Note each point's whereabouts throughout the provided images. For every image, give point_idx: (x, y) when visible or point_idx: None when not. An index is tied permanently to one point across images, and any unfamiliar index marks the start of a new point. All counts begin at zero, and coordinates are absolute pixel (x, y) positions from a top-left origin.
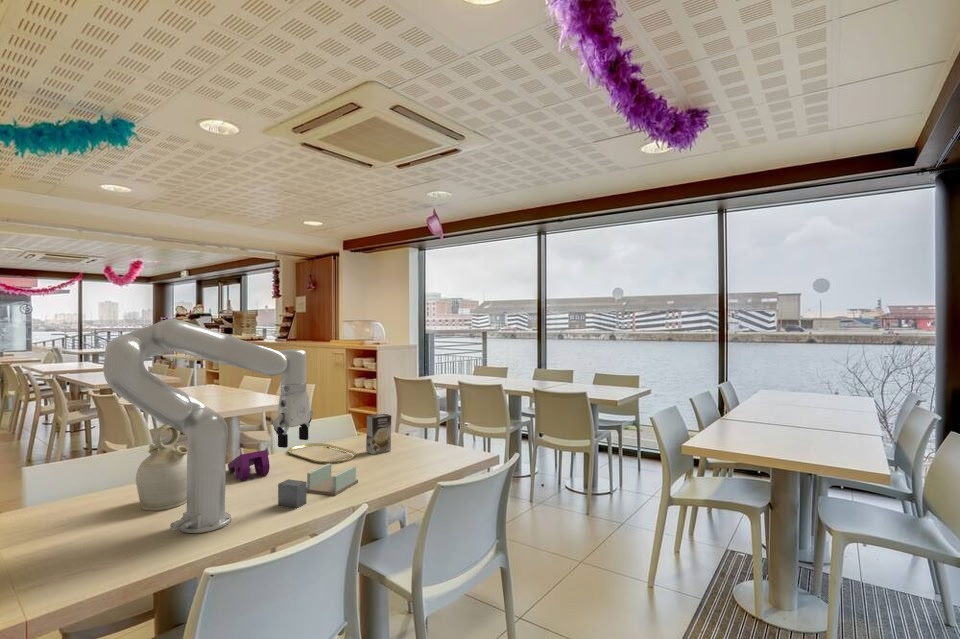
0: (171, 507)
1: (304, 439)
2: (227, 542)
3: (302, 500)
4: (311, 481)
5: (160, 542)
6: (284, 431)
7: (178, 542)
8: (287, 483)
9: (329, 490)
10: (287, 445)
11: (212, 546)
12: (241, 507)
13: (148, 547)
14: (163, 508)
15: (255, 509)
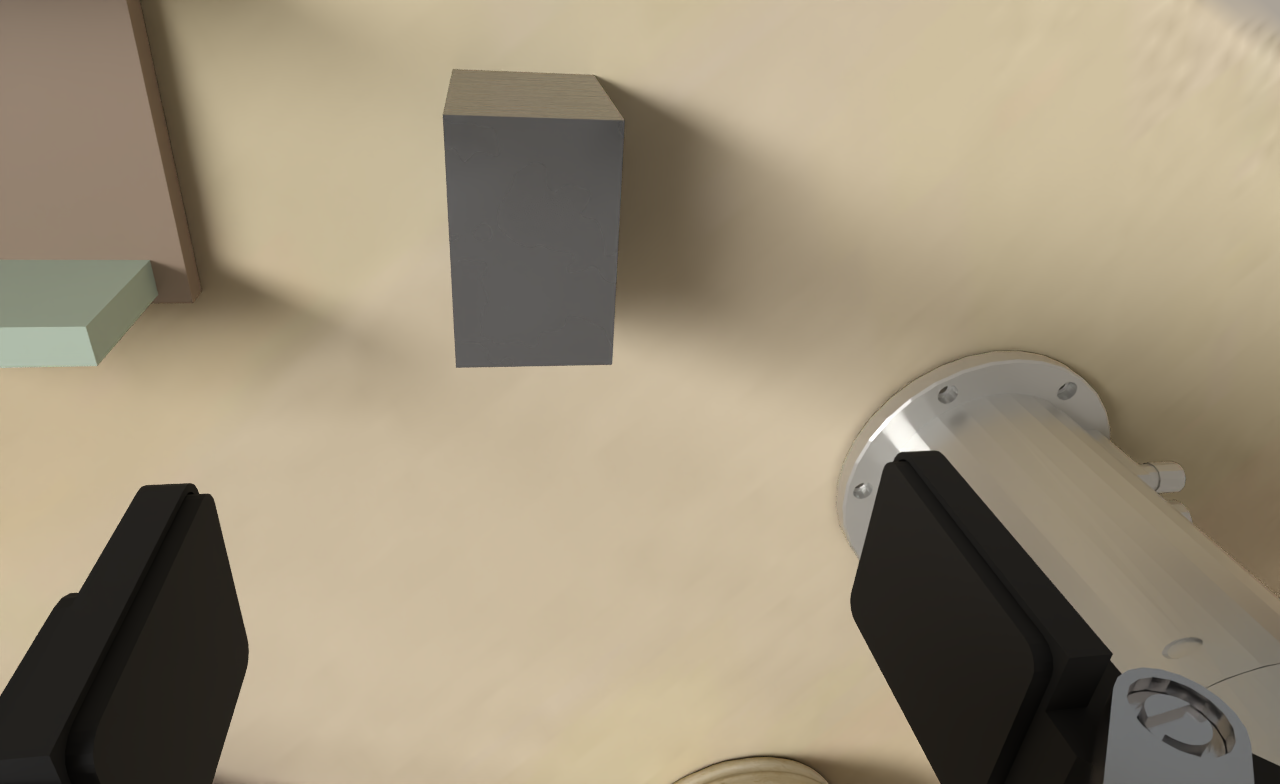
0: (791, 761)
1: (218, 543)
2: (1221, 152)
3: (512, 80)
4: (99, 285)
5: (1184, 486)
6: (1240, 754)
7: (1192, 412)
8: (577, 283)
9: (75, 4)
10: (925, 464)
11: (1267, 199)
12: (685, 486)
13: (1235, 488)
14: (816, 774)
15: (693, 381)
